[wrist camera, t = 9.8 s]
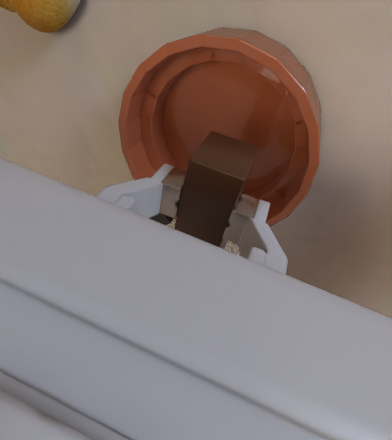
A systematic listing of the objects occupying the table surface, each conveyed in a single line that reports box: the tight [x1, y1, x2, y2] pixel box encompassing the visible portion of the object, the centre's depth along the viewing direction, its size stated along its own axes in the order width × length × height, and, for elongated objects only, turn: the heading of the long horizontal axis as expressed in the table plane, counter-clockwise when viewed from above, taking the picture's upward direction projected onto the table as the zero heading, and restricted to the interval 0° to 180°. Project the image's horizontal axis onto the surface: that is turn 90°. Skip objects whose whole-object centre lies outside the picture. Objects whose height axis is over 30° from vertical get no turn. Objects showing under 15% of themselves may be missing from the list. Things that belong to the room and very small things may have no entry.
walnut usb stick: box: [174, 131, 259, 249], centre depth 15 cm, size 8×3×3 cm, turn 168°
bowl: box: [119, 27, 321, 227], centre depth 21 cm, size 14×14×5 cm
